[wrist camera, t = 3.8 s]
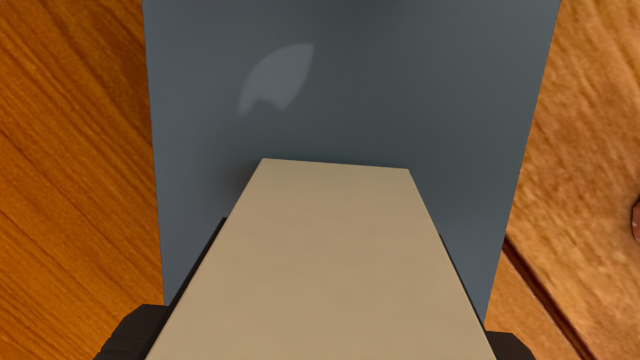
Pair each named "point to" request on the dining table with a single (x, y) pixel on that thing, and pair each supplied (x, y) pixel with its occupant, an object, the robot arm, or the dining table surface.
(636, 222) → the bread slice
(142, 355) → the robot arm
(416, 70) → the chest lid
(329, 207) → the block
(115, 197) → the dining table surface
